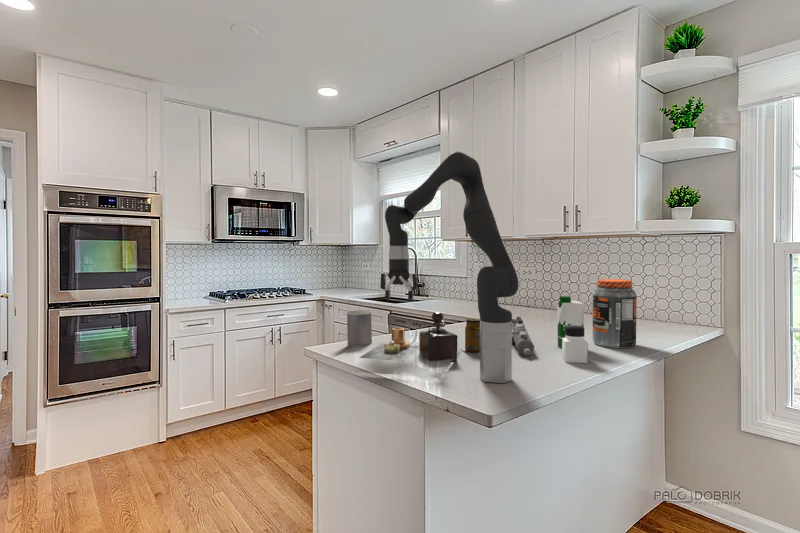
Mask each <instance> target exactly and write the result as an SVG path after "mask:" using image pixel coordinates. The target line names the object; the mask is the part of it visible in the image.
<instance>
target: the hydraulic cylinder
mask: <svg viewBox="0 0 800 533" xmlns="http://www.w3.org/2000/svg"><path fill="white" fill-rule="evenodd" d="M512 346H515V347H516V349H517V351H518V353H519V354H520V355H522V356H530V355H532V354H533V353H534V350H535V345H534V344H533V342H532V340H531V337H530V335H529V333H528V331H527V328H526V326H525V324H524V320H523V318H522V317H521V316H516V317H515V318H512Z"/></svg>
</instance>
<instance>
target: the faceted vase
mask: <svg viewBox="0 0 800 533" xmlns="http://www.w3.org/2000/svg"><path fill="white" fill-rule="evenodd" d="M405 332H406V329H405V328H404V327H392V328H391V341H394V342H395V343H398V344H400V349H407V348H408V347H410V345H411V344H410V343H411V342H409V341H406V338H405V337H406V333H405ZM389 342H390V341H388V342H387V343H389Z"/></svg>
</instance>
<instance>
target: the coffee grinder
mask: <svg viewBox="0 0 800 533" xmlns="http://www.w3.org/2000/svg"><path fill="white" fill-rule="evenodd" d="M431 319H432V320H433V323H432V326H433V327H432V328H430V327H428V330H426V331H419V335H418V336H419V337H418V340H419V343H418V344H419V345H418V346H419V348H418V349H419V351H418V352H419V356H421V357H422V359H426V360H427V361H429V362H437V361H446V360H447V361H448V360H451V362H450V363H451V364H452V363H457V362H458V335H457V334H456V333H453V332H450V331H448V330H446V329H445V328H444V327H445V326H446V322H445V321H444V313H442V312H440V311H434V313H432V315H431Z"/></svg>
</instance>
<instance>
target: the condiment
mask: <svg viewBox="0 0 800 533" xmlns="http://www.w3.org/2000/svg"><path fill="white" fill-rule="evenodd" d="M465 322H466V324H465V327H464V348H461V349H460V350H461V351H462V352H465V353H466V354H468V355H480V318H479V319H478V318H468V319H466V320H465Z"/></svg>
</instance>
